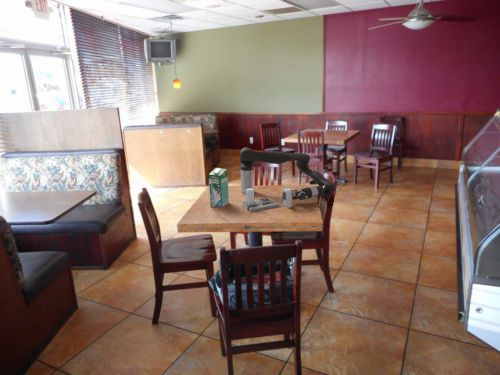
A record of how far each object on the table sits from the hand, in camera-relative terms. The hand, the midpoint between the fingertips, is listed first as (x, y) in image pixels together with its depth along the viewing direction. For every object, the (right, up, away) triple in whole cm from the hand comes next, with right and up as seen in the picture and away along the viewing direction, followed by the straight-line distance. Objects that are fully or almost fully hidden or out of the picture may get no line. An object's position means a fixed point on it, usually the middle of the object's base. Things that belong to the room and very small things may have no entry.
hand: (288, 196), depth 234 cm
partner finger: (-25, -7, -2) cm, 26 cm away
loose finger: (-1, -7, +1) cm, 7 cm away
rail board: (-18, -8, 0) cm, 20 cm away
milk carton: (-46, -7, +7) cm, 47 cm away
